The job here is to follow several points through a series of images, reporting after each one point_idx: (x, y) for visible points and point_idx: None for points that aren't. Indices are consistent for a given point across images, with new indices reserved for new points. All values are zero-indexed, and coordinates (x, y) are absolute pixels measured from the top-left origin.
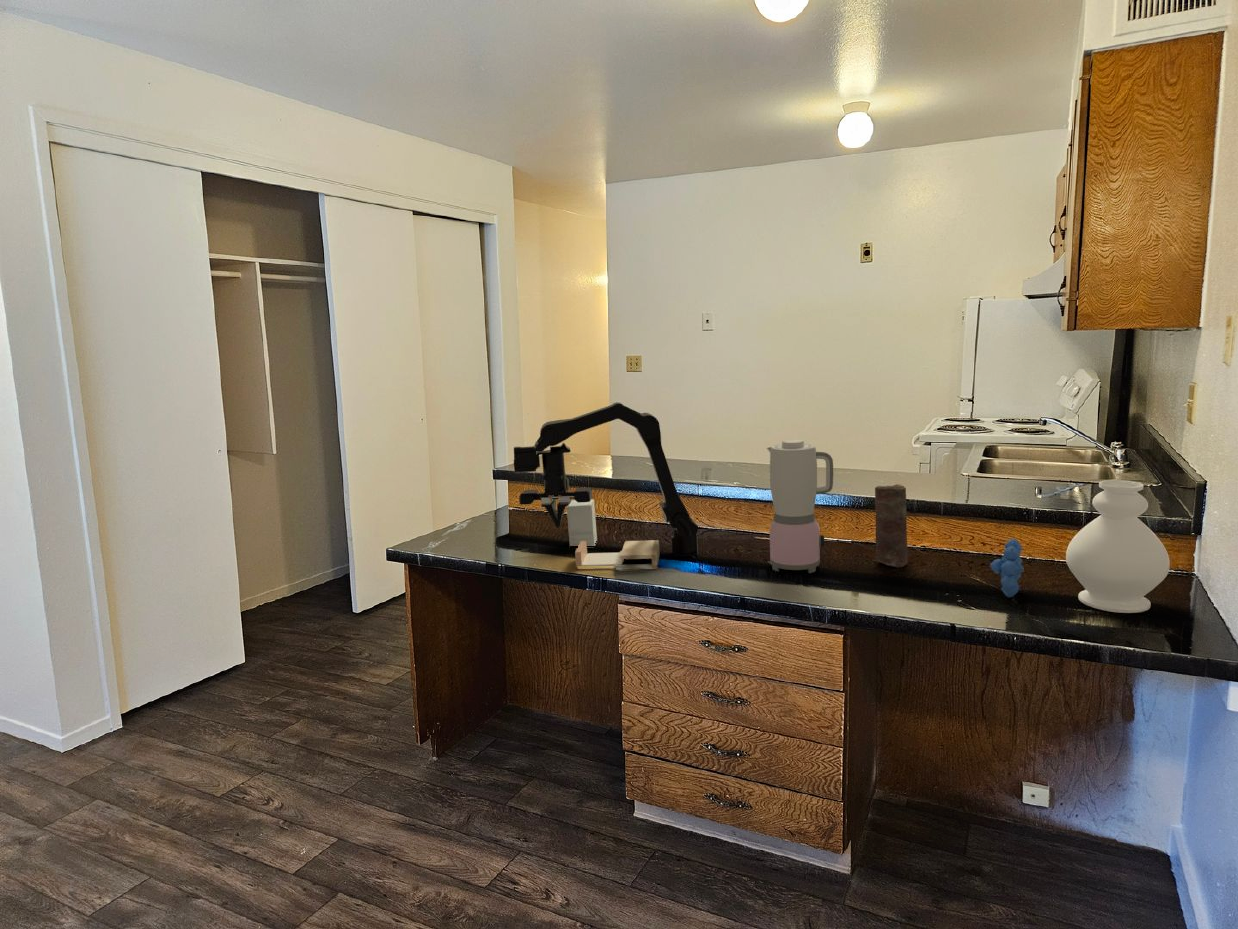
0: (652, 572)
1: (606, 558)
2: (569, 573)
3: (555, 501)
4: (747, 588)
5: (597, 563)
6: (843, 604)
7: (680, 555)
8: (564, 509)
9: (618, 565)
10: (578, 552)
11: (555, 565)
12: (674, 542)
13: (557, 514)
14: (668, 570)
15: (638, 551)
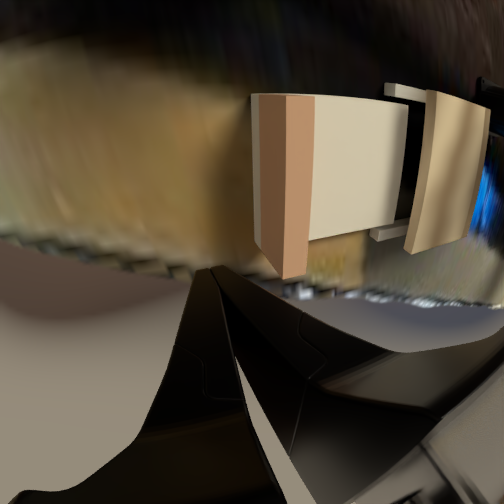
0: None
1: (359, 168)
2: None
3: (272, 483)
4: (482, 281)
5: (333, 224)
6: (501, 297)
7: None
8: (357, 349)
9: (385, 235)
10: (295, 275)
11: (154, 201)
12: (502, 126)
13: (273, 425)
14: None
15: (449, 213)
